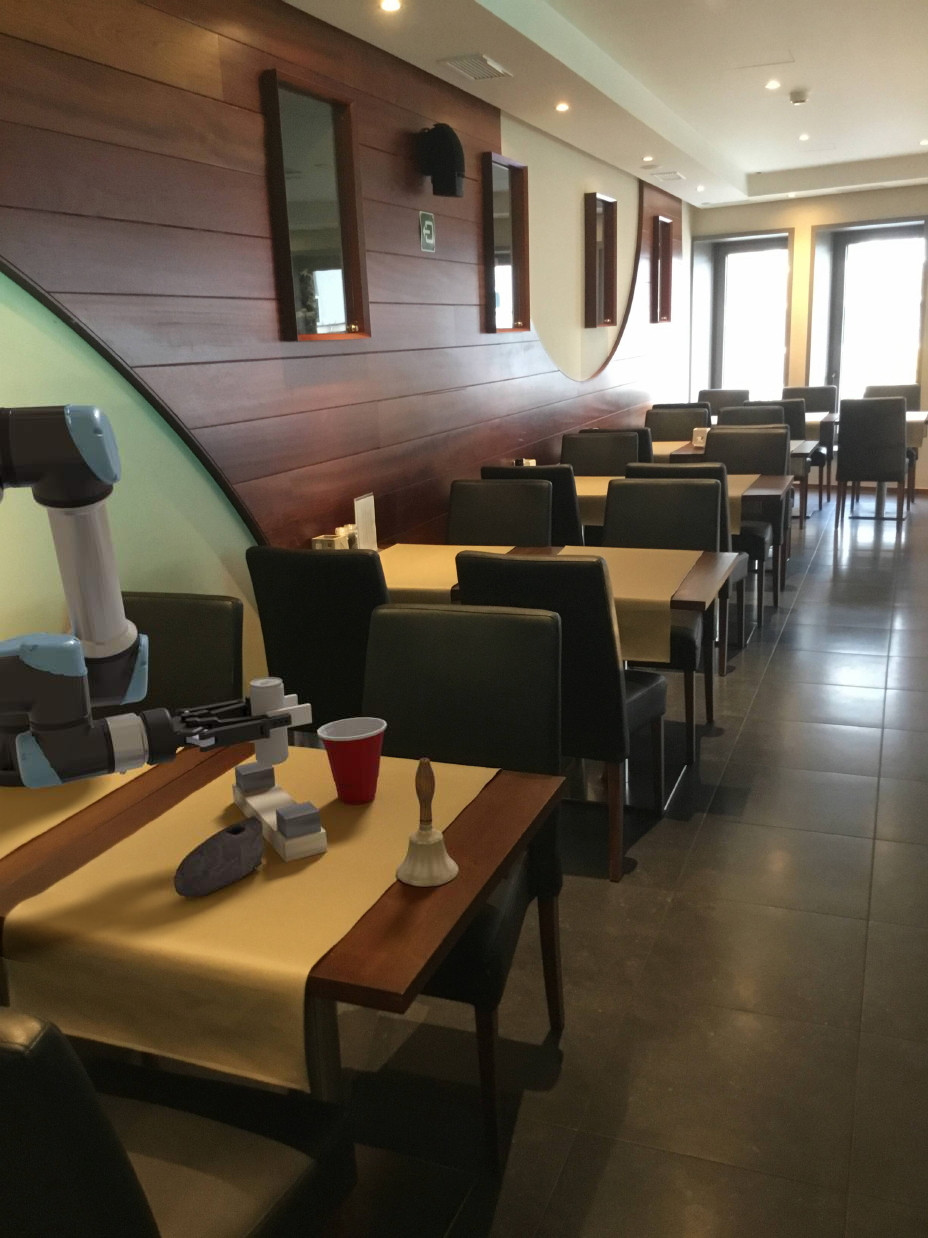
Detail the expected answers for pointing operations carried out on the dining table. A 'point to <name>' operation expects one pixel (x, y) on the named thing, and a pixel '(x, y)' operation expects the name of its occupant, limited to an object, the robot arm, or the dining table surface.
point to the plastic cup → (354, 756)
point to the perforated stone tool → (221, 859)
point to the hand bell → (426, 840)
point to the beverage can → (265, 698)
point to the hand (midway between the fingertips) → (303, 708)
